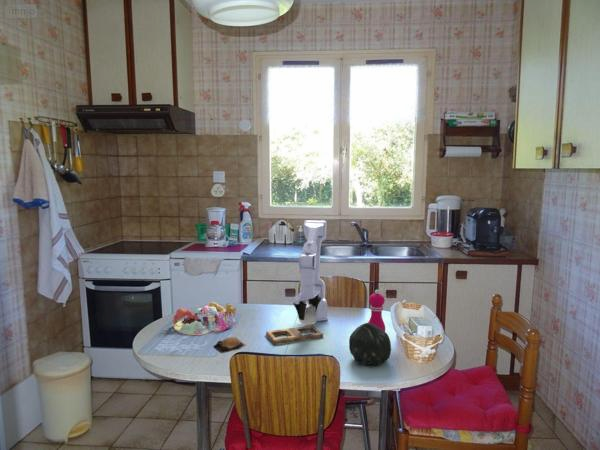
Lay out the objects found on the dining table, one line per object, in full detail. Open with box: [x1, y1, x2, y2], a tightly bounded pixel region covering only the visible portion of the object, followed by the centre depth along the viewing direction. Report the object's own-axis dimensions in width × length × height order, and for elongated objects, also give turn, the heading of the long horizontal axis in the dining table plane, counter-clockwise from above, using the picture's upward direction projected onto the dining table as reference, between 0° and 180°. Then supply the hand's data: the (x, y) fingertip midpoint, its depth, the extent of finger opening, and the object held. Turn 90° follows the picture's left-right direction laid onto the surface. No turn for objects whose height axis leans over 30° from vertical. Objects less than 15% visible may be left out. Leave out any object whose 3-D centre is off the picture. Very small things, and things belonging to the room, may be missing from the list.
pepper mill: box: [367, 289, 386, 332], centre depth 169 cm, size 7×7×20 cm
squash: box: [348, 322, 392, 366], centre depth 150 cm, size 14×15×15 cm
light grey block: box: [298, 303, 316, 326], centre depth 174 cm, size 5×5×7 cm
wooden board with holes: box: [265, 324, 324, 346], centre depth 173 cm, size 20×10×2 cm, turn 111°
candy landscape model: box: [172, 301, 237, 336], centre depth 185 cm, size 25×24×9 cm
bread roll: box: [213, 336, 247, 354], centre depth 163 cm, size 11×9×4 cm
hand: (307, 317), depth 174 cm, fingers closed on light grey block, 7 cm apart
